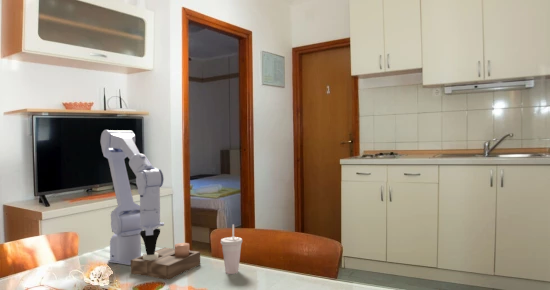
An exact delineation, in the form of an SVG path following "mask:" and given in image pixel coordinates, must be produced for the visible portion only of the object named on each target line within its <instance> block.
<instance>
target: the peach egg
mask: <svg viewBox="0 0 550 290" xmlns="http://www.w3.org/2000/svg"><path fill="white" fill-rule="evenodd" d="M174 249H175V257H182V258H184V257H187V256H189V251H190V243H189V242H180V243H179V242H178V243H175V244H174Z"/></svg>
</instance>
